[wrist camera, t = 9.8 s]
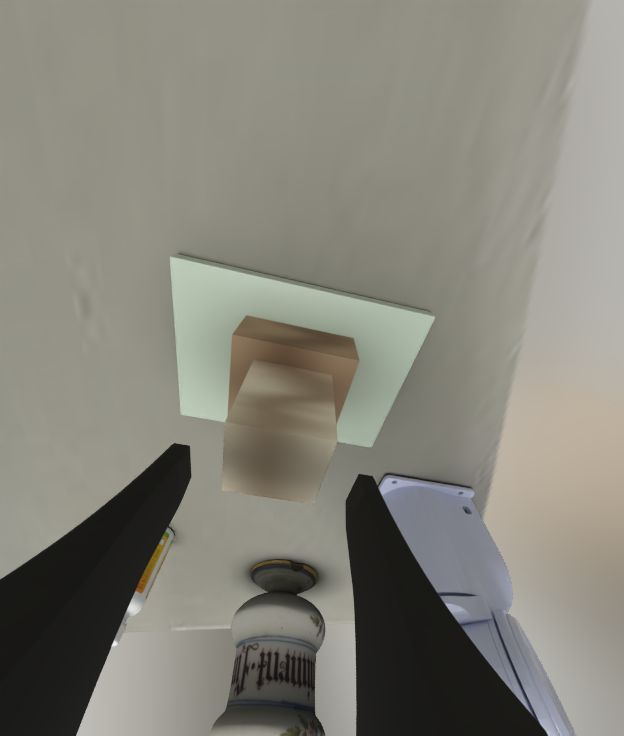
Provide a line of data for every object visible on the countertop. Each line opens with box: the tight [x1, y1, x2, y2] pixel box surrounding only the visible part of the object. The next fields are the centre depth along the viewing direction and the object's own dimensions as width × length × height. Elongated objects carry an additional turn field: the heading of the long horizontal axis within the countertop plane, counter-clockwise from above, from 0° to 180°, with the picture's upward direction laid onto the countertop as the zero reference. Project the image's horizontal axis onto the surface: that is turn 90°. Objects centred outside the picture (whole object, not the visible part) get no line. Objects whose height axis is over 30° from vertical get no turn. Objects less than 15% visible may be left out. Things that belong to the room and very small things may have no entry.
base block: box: [228, 315, 360, 425], centre depth 17 cm, size 7×7×3 cm
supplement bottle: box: [111, 528, 174, 647], centre depth 28 cm, size 5×5×10 cm
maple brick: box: [222, 359, 338, 504], centre depth 13 cm, size 4×4×5 cm
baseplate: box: [170, 254, 435, 448], centre depth 18 cm, size 16×12×1 cm
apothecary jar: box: [210, 560, 325, 736], centre depth 30 cm, size 12×12×18 cm
